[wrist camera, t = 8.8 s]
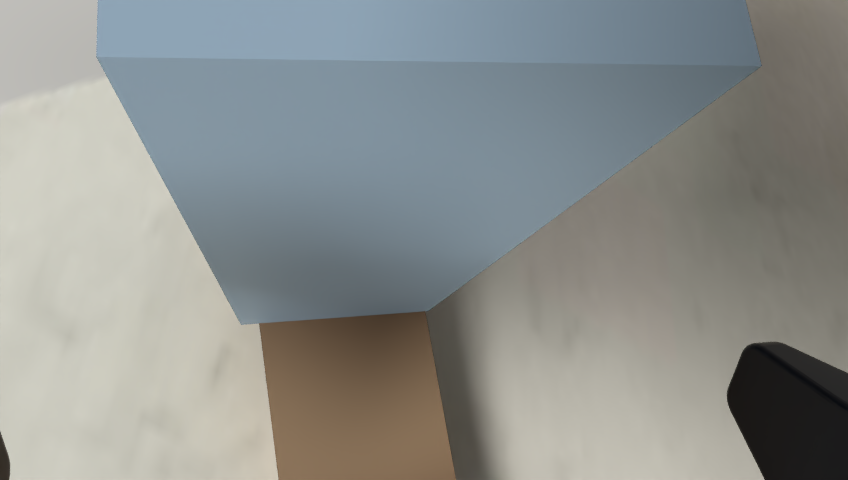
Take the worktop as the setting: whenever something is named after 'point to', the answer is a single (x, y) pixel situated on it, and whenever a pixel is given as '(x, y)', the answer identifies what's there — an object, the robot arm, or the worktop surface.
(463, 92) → the post
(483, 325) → the worktop surface
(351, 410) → the rail
